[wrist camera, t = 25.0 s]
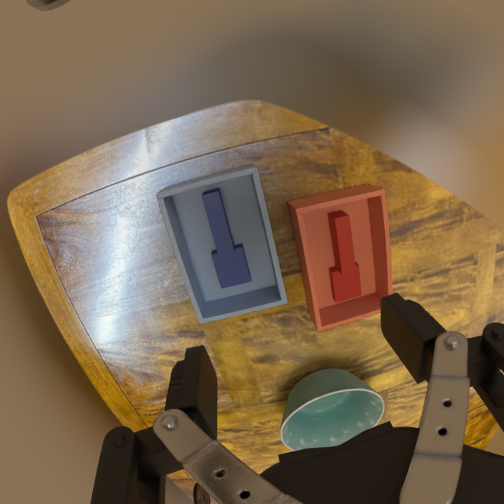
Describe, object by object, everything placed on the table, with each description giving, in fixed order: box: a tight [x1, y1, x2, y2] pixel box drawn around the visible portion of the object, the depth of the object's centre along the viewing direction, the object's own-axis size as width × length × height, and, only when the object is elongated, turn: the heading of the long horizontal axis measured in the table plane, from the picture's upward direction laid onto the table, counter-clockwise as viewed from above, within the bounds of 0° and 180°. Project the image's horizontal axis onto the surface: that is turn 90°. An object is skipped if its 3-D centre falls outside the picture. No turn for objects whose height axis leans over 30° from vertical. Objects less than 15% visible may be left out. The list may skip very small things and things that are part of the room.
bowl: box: [280, 368, 385, 451], centre depth 41 cm, size 16×16×8 cm
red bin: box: [288, 184, 392, 332], centre depth 35 cm, size 15×10×4 cm
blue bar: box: [202, 188, 251, 289], centre depth 33 cm, size 11×4×3 cm, turn 13°
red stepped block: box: [328, 210, 361, 303], centre depth 35 cm, size 11×4×3 cm, turn 13°
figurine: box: [193, 483, 210, 504], centre depth 41 cm, size 7×5×18 cm
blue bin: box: [156, 164, 288, 324], centre depth 33 cm, size 15×10×4 cm
